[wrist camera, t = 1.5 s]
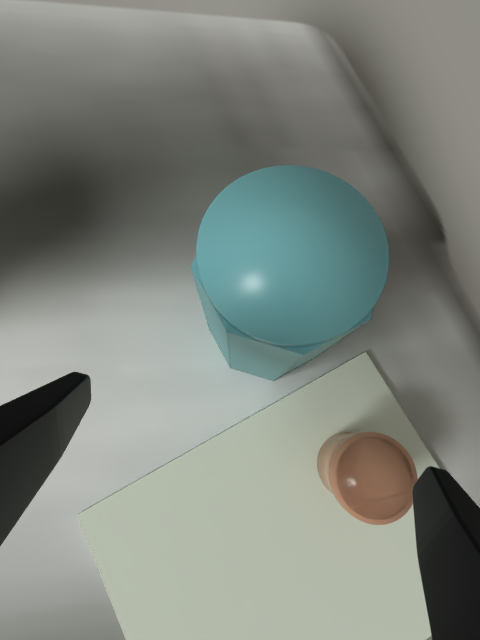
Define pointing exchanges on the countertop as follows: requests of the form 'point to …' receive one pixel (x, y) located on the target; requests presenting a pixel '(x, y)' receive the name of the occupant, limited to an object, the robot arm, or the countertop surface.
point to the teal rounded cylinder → (287, 267)
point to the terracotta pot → (368, 475)
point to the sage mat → (265, 531)
